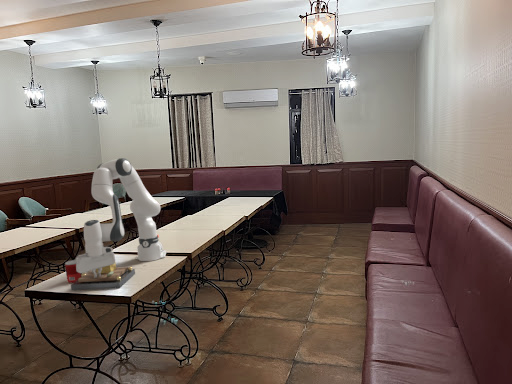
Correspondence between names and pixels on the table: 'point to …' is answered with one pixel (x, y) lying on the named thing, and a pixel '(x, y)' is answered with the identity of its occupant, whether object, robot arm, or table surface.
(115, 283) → the grey tray
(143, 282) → the table surface
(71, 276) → the canned food
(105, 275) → the level plate
